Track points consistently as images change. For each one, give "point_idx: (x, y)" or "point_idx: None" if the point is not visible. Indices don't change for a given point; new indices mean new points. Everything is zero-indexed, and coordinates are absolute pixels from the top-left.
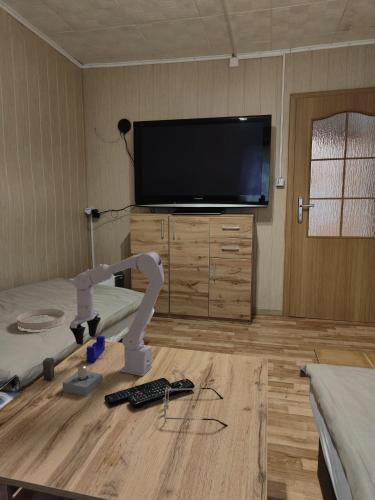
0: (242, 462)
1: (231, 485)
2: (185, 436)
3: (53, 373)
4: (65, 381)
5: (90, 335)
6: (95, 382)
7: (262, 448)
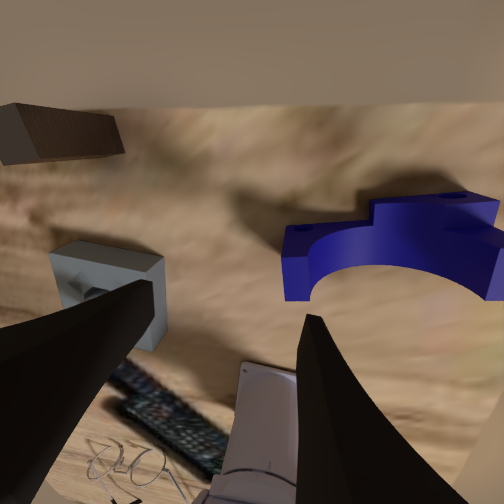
0: (91, 497)
1: (58, 485)
2: (94, 463)
3: (103, 155)
4: (57, 260)
5: (305, 327)
6: None
7: None
